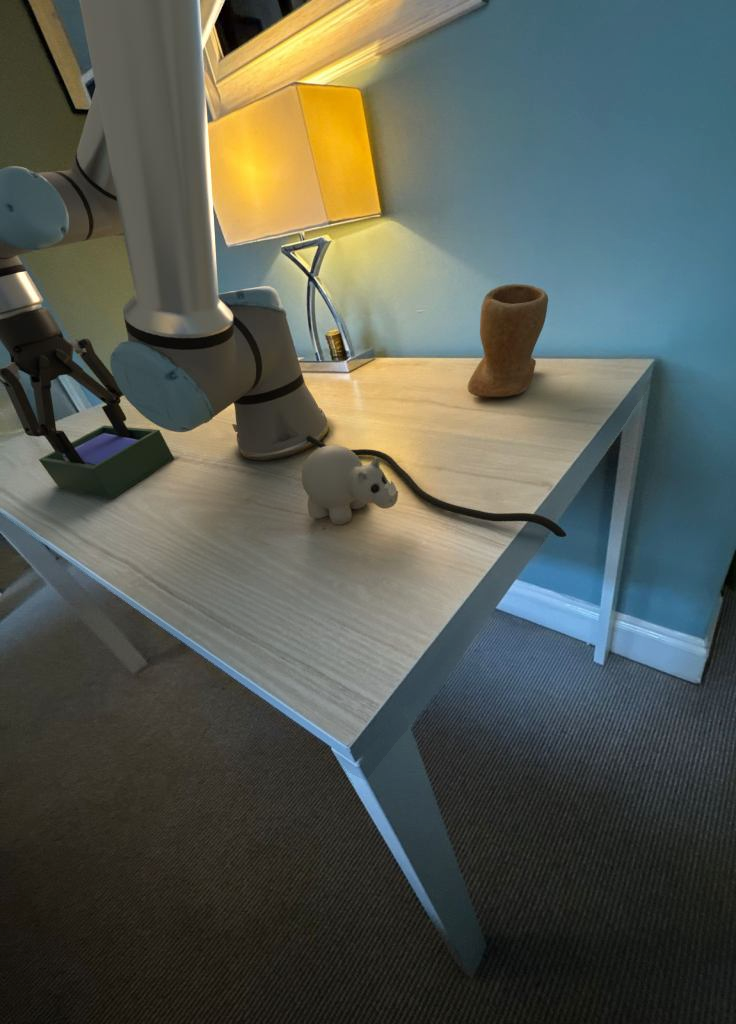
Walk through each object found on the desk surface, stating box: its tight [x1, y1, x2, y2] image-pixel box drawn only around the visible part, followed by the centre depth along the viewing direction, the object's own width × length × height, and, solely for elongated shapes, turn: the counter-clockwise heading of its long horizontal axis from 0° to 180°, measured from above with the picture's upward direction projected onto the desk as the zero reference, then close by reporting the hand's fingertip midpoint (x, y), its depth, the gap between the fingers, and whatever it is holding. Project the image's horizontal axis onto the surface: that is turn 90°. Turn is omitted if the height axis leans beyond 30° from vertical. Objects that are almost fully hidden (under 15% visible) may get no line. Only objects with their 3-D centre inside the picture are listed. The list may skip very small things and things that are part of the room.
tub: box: [38, 425, 175, 500], centre depth 75 cm, size 17×13×6 cm
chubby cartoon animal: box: [301, 444, 399, 525], centre depth 49 cm, size 7×12×8 cm, turn 55°
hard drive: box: [62, 433, 138, 466], centre depth 74 cm, size 2×8×12 cm
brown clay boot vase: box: [467, 283, 549, 398], centre depth 69 cm, size 15×12×15 cm
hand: (105, 453), depth 74 cm, fingers closed on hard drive, 8 cm apart
